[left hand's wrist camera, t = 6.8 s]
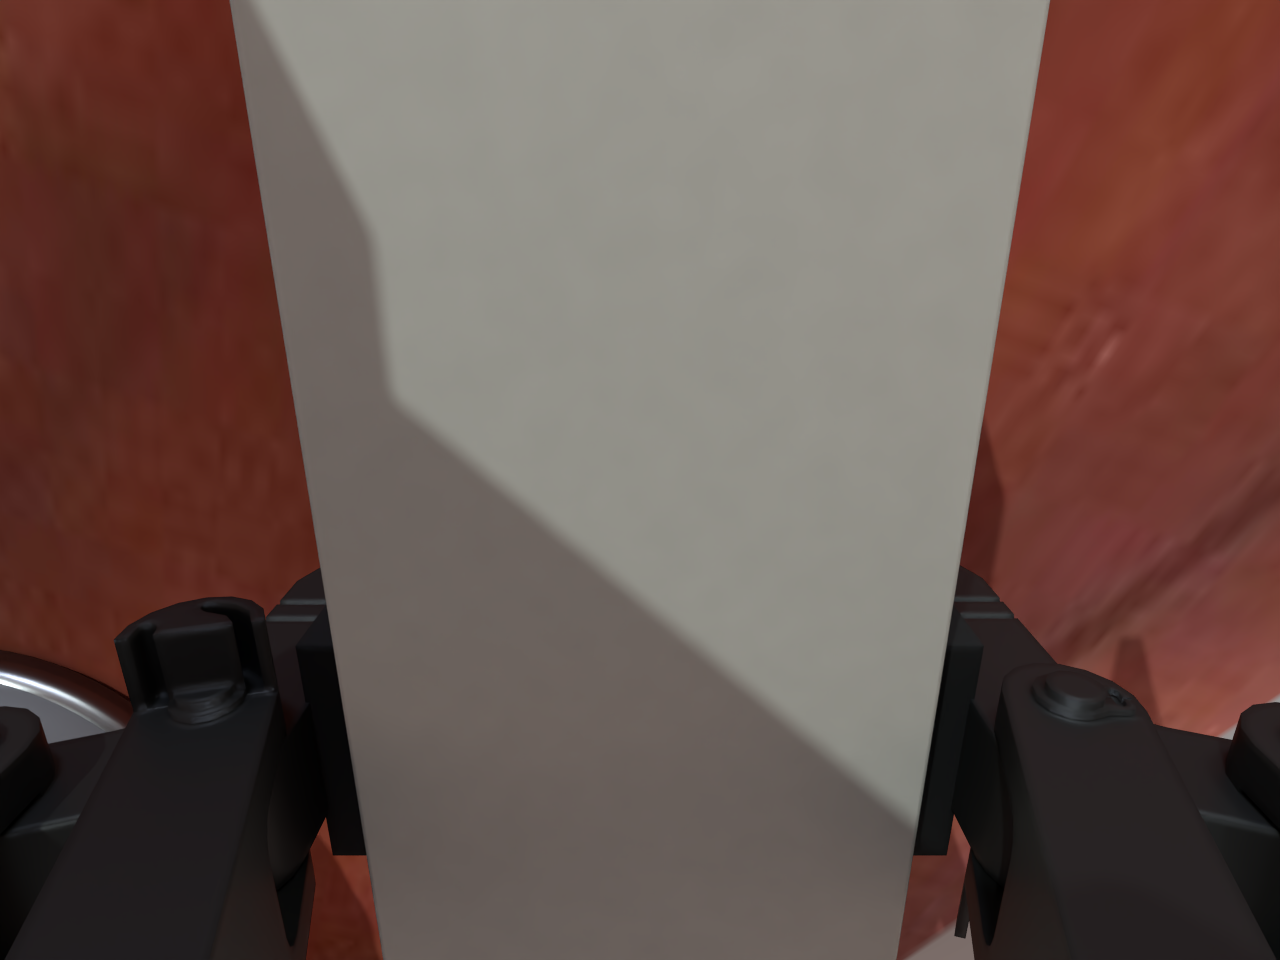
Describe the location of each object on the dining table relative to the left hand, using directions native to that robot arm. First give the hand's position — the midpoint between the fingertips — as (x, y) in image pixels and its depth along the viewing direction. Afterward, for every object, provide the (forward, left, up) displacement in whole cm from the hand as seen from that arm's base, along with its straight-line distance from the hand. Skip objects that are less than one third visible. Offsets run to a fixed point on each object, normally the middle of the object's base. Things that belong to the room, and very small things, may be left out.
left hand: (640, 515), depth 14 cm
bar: (+7, +4, 0) cm, 8 cm away
